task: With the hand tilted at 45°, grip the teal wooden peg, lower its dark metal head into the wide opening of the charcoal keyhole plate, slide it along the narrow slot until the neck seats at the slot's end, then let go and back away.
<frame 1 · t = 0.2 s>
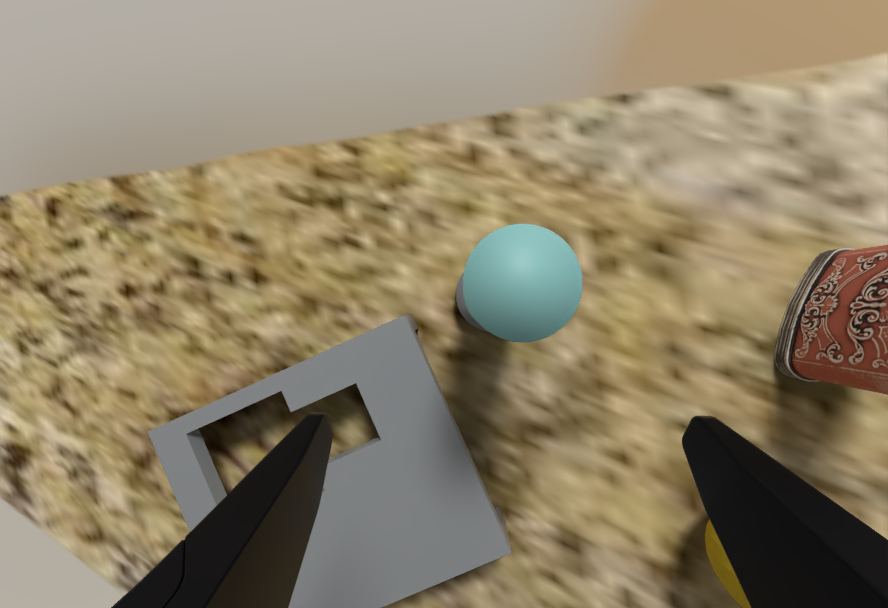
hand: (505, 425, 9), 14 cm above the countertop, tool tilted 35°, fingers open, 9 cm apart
peg: (491, 295, 23), on the countertop
keyhole plate: (342, 467, 24), on the countertop
lemon: (721, 518, 23), on the countertop
lighter: (812, 314, 23), on the countertop
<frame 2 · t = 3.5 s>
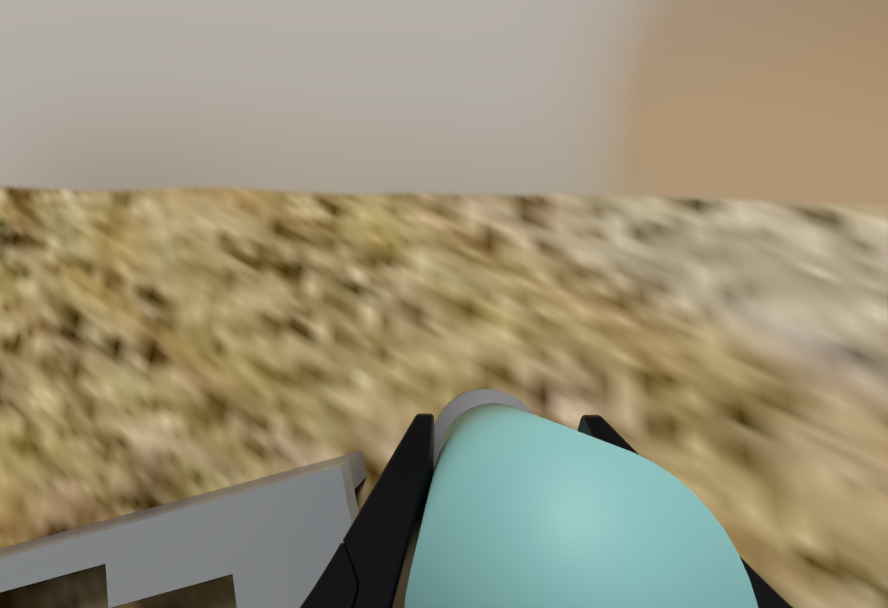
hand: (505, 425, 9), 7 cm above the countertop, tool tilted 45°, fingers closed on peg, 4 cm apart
peg: (485, 443, 16), on the countertop, touching gripper
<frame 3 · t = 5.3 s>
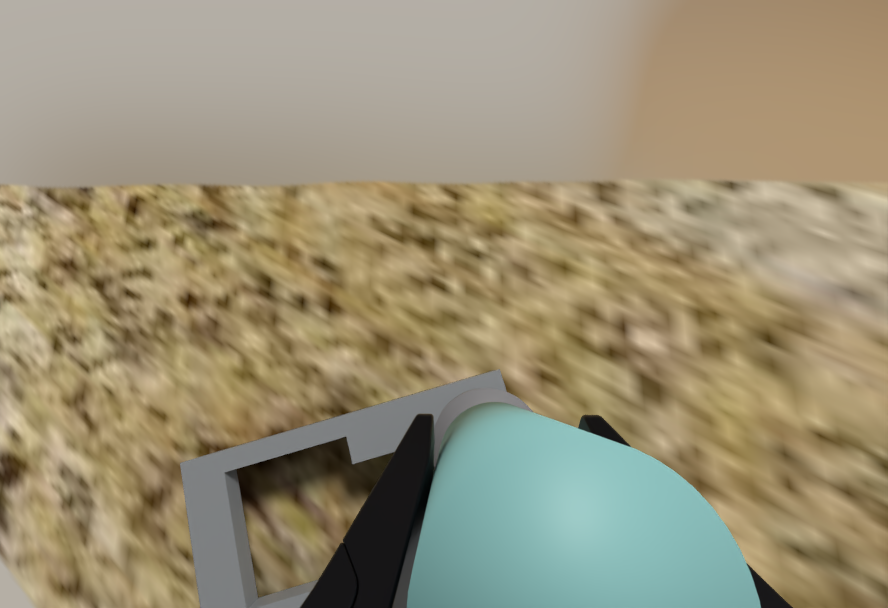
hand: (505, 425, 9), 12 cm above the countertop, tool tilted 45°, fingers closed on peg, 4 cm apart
peg: (485, 442, 16), point 5 cm above the countertop, touching gripper
keyhole plate: (388, 542, 20), on the countertop
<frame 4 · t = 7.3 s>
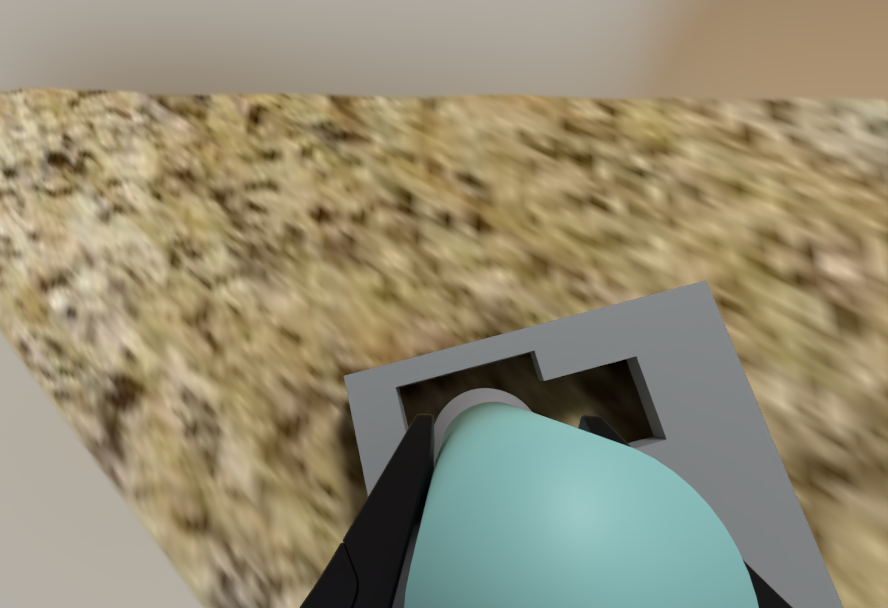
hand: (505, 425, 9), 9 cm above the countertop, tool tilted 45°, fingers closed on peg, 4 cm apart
peg: (485, 442, 16), point 3 cm above the countertop, touching gripper
keyhole plate: (559, 481, 18), on the countertop
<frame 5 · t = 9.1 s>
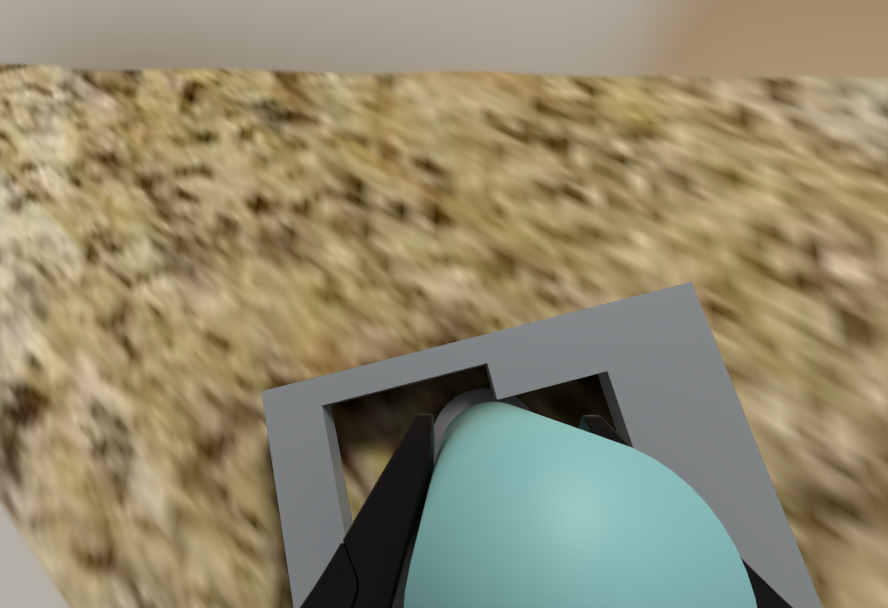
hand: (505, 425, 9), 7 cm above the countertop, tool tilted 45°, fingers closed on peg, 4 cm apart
peg: (485, 442, 16), on the countertop, touching gripper
keyhole plate: (520, 513, 15), on the countertop
when the fingers open (7 cm above the countertop, at t = 10.9 s): peg stays where it is, on the countertop.
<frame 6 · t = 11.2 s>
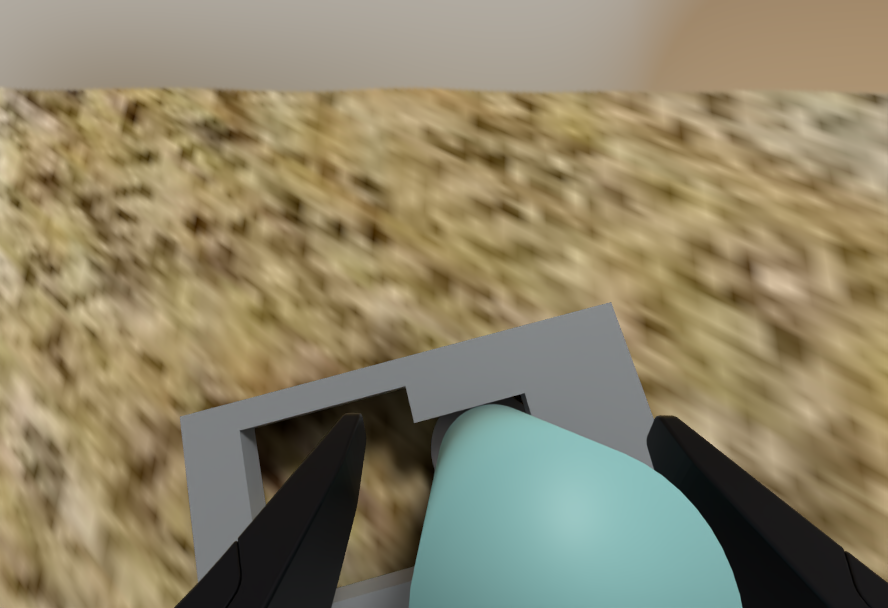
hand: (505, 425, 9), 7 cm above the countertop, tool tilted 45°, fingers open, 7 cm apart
peg: (484, 443, 16), on the countertop
keyhole plate: (449, 534, 15), on the countertop
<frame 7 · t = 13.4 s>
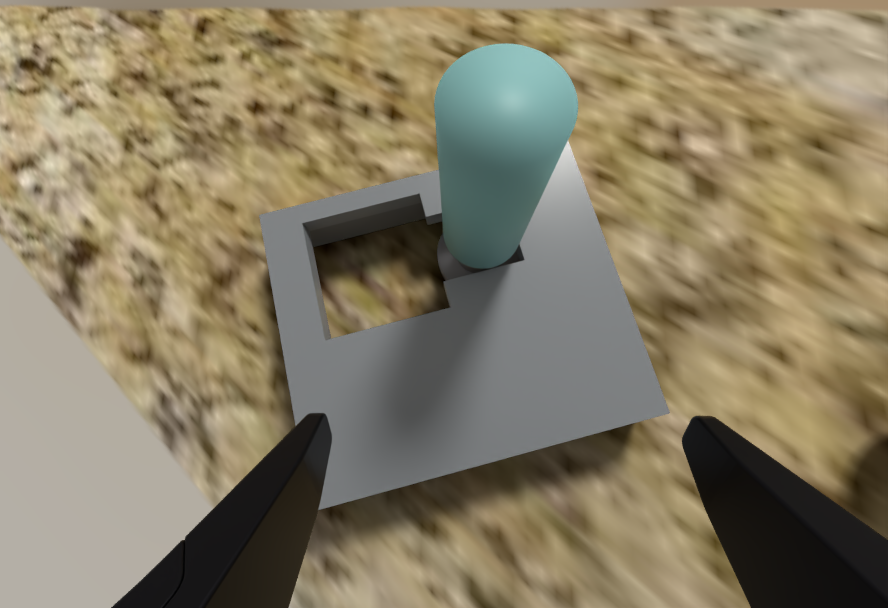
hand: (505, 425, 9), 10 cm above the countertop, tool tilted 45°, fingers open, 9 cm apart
peg: (477, 257, 21), on the countertop
keyhole plate: (451, 318, 21), on the countertop
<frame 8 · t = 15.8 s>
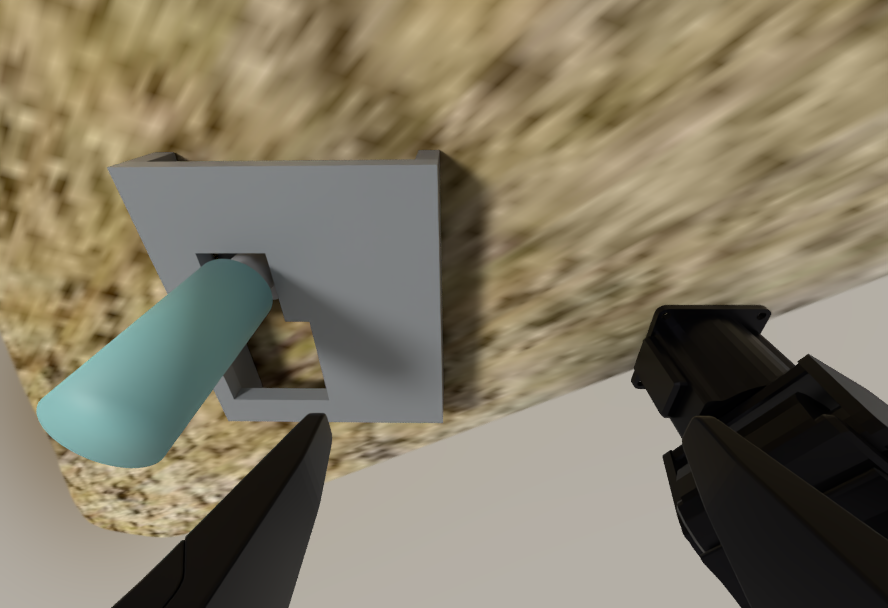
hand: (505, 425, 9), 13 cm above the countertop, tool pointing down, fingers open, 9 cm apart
peg: (267, 257, 22), on the countertop
keyhole plate: (325, 292, 23), on the countertop
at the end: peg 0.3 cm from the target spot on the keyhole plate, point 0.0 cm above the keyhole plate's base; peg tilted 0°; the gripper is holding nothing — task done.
